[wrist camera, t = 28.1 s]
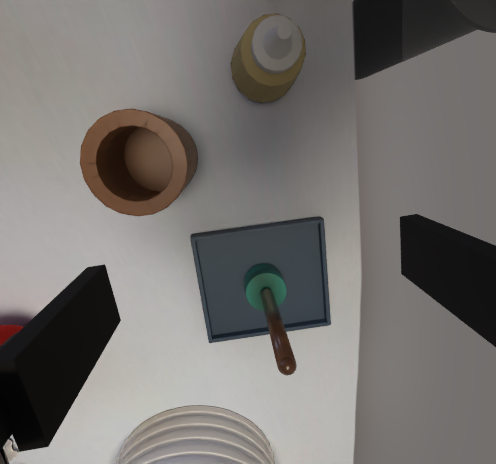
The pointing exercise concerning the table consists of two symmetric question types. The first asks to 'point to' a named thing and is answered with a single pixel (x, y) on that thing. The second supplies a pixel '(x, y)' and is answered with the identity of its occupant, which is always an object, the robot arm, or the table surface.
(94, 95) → the table surface
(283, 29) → the squeeze bottle
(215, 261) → the tray
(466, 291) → the robot arm
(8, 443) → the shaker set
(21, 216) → the table surface
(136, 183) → the wooden jar
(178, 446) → the plate stack
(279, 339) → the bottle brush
